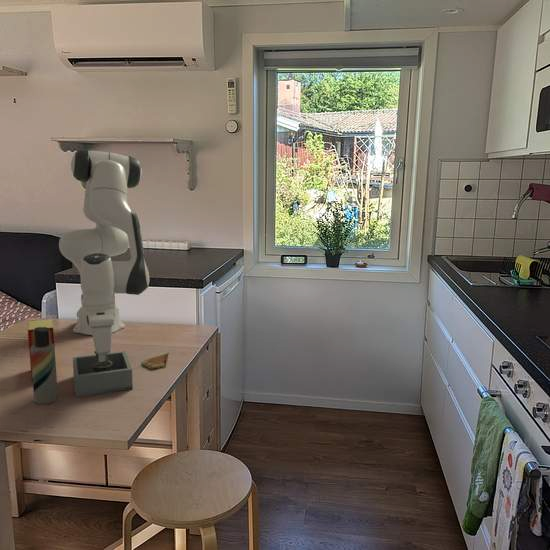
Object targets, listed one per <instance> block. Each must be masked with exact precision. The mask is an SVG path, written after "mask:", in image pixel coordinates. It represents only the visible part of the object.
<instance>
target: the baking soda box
mask: <svg viewBox="0 0 550 550" xmlns="http://www.w3.org/2000/svg"><path fill="white" fill-rule="evenodd" d="M27 322H28V323H27V335H28V337H27V338H28V339H27V340H28V348H29V349H28V350H29V361H30V373H31V374H30V375H31V383H33V377H32V364H31V351H30V348H31V346H33V345H34V337H33V331H34V329H35V328H37V327H47V328H48V329H49V334H50V343H52V344H54V345H55V335H54V334H55V333H54V324H53V318H46V319H45V318H44V319H35V320H28V321H27ZM54 349H55V350H56V348H55V346H54ZM55 363H56V361H55ZM56 364H57V363H56ZM56 377H57V375H56Z"/></svg>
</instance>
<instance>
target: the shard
mask: <svg viewBox="0 0 550 550" xmlns="http://www.w3.org/2000/svg"><path fill="white" fill-rule="evenodd" d="M169 353H170V352H168V353H164V354H160V355H157V356H153V357H151V358H150V357H149V358H148V359H144V360H142V361H141V366H144V365H145V366H144V367H146V366H147V367H146V368H148V367H149V368H148V369H150V368H151V369H150V370H155V369H161V368H160V367H163V368H166V367H167V362H168V359H169ZM154 368H155V369H154Z"/></svg>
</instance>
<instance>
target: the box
mask: <svg viewBox="0 0 550 550" xmlns="http://www.w3.org/2000/svg"><path fill="white" fill-rule="evenodd" d="M107 359H108V360H109V361H111V362H112V365H111V369H110V370H109V371H105V372H97V373H95V372H94V371H93V369H92V367H91V364H92V363H93V362H95V361H96V354H89V355H81V356H72V368H73V382H74V384H73V385H74V394H75V395H74V396H75V397H74V398H81V397H88V396H96V395H104V394H109V393H117V392H122V391H123V392H124V391H130V390H133V388H134V387H133V368H132V366H131V363H130V361H129V358H128V355H127V353H126V350H125V351H115V352H110V353H108V354H107Z"/></svg>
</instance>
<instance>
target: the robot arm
mask: <svg viewBox="0 0 550 550" xmlns="http://www.w3.org/2000/svg"><path fill="white" fill-rule="evenodd" d="M141 164H142V163H141V162H140V161H139V159H137V158H136V157H133V156H126V155H123V154H120V153H116V152H111V151H109V152H107V151H100V150H89V149H78V150H76V151H75V152H74V155H73V156H72V158H71V161H70V170H71V172H72V176H73V178H75V180H76V181H79V182H82V183H86V185H85V191H84V200H83V206H82V207H83V208H82V211H83V214H84V216H85V217H86V219H87V220H89V221H91V222H92V223H95V228H83V229H74V230H70V231H67V232H66V231H65V232H64V233H63V234H62V235H61V236H60V238H59V240H58V249H59V252H60V253H61V255H62V256H63V257H64V258H65V259H67V260H68V261H70V262H71V263H73V265H74V266H75V267H76V269H77V270H78V273H79V276H80V289H81V292H82V293H81V295H80V297H81V298H80V301H81V306H80V308H79V309H78V311H76V317H77V322H76V324H75V325H74V327H73V329H72V330H73V331H72V332H73V333H76V334H77V333H78V334H83V335H87V336H88V335H89V336H92V339H93V344H94V351H96V354H98V359H99V362H104V361H105V354H108V353H111V349H112V348H111V347H112V340H113V339H112V335H113V333H115V332H117V331H118V330H121V329H124V328H126V325H125V323H124V322H123V321H122V320H121V315H120V307H119V306H118V305H116V299H115V298H116V295H115V294H125V295H126V294H127V295H132V296H133V295H136V296H137V295H138V296H139V295H141V294H142V293H143V292H145V291H146V290H147V289H148V288H149V284H150V272H149V268H148V266H147V263H146V256H145V250H144V244H143V237H142V231H141V226H140V221H139V217H138V215H137V212H136V211H135V210H133V209H131V207H130V206H129V202H128V189H134V188H136V187H137V186H138V185H139V183H140V181H141V179H142V176H143V169H142V165H141ZM128 250H129V253H130V254H129V255H130V259H129V260H127V261H126V260H124V261H121V260H112V258H111V257H117V256H119V255H122V254H124V253H127V251H128ZM96 354H95V355H96Z"/></svg>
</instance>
